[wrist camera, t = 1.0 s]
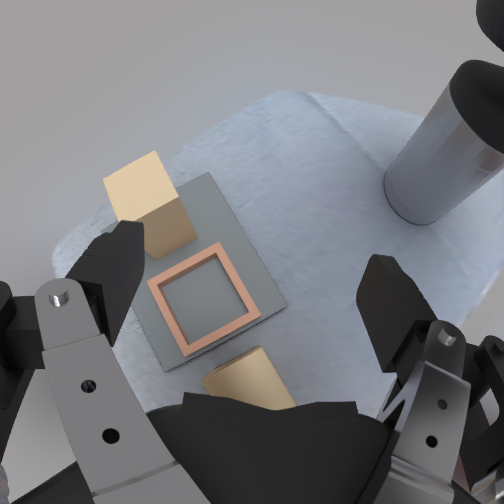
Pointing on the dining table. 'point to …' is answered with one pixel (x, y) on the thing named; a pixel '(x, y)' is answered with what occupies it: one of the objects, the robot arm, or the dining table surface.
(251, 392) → the maple pillar
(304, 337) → the dining table surface
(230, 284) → the base board
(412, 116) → the dining table surface
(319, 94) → the dining table surface
